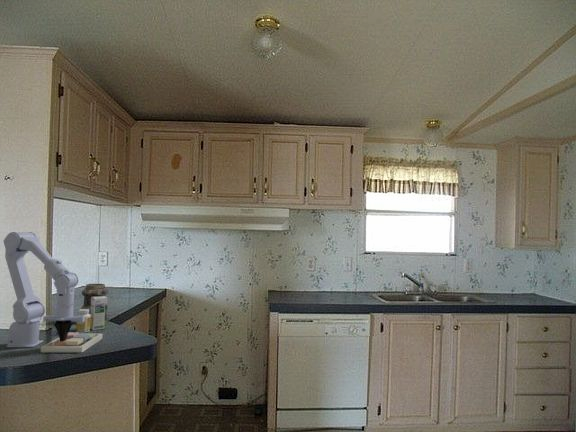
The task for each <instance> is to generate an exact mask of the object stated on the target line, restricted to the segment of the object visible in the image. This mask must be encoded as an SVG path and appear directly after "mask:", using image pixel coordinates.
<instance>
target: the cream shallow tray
mask: <svg viewBox="0 0 576 432" xmlns="http://www.w3.org/2000/svg"><path fill="white" fill-rule="evenodd" d="M79 334H91V333H88V332H86V333H79ZM94 334H95V337H94V338H89V339H87V340H85V341H83V342H82V343H81V344H79V345H66V344H65V345H64V346H54V342H56V341H58V340H59V339H60V338H59V337H57V338H55V339H53V340H52V341H50V342H47V343H46V344H44V345H42V346H40V353H43V354H44V353H45V354H46V353H47V354H50V353H52V354H53V353H54V354H55V353H61V354H62V353H63V354H64V353H65V354H66V353H69V354H70V353H73V354H74V353H76V354H79V353H80V354H82V353H84V352H85V351H86V350H87V349H89V348H91V347H92V346H93V345H95V344H97V343H98V342H100V341H102V339H104V337H103V335H104V334H103V333H94Z"/></svg>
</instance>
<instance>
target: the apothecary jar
mask: <svg viewBox="0 0 576 432" xmlns="http://www.w3.org/2000/svg"><path fill="white" fill-rule="evenodd" d="M108 293H109V290H108V289H107V288H106V284H105V283H87V284H86V285H85V288H84V289H82V291H81V295H82V296H83V298H84V299H83V305H82V306H81V307H80V309H89V313H88V314H90V313H91V297H98V296H107V295H108Z"/></svg>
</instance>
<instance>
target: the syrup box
mask: <svg viewBox="0 0 576 432" xmlns="http://www.w3.org/2000/svg"><path fill="white" fill-rule="evenodd" d="M108 299H109V298H108V296H107V295H105V296H98V297H91V313H90V330H92V331H97V330H99V331H100V330H105V329H107V316H108Z"/></svg>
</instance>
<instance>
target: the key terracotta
mask: <svg viewBox="0 0 576 432" xmlns="http://www.w3.org/2000/svg"><path fill="white" fill-rule="evenodd" d="M67 340H69V339H66V340H65V341H60V339H59V340H58V341H56V342H54V346H64V345H65V344H66V341H67Z"/></svg>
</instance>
